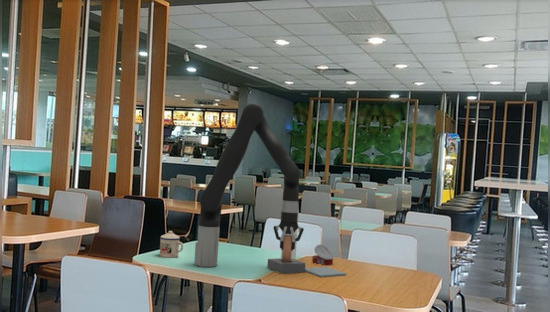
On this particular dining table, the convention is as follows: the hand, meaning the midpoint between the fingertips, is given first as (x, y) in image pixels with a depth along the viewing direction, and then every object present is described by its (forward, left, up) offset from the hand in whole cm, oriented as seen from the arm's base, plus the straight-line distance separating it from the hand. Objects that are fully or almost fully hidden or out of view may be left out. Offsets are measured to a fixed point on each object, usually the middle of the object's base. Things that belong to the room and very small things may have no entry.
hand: (287, 249), depth 223 cm
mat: (+14, -9, -9) cm, 19 cm away
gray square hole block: (0, 0, -9) cm, 9 cm away
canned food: (+27, +9, -9) cm, 30 cm away
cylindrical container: (+13, +18, -9) cm, 24 cm away
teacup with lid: (-38, +40, -9) cm, 56 cm away
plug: (0, 0, -6) cm, 6 cm away
